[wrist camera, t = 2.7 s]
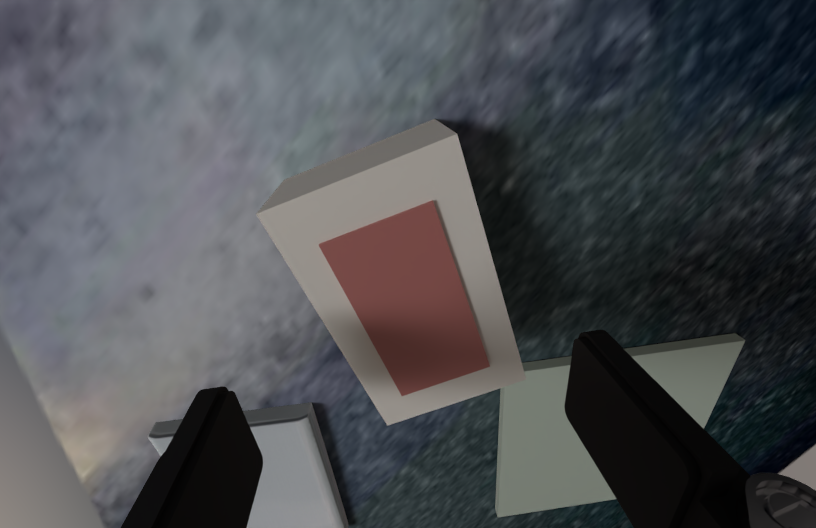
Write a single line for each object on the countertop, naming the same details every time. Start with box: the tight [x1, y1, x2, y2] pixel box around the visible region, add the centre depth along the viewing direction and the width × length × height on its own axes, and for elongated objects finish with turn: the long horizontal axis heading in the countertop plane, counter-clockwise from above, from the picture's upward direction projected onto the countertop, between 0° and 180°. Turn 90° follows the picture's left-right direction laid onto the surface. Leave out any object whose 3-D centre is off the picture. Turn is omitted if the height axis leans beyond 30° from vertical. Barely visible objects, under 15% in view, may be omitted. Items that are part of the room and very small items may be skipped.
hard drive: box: [148, 403, 348, 528], centre depth 21 cm, size 2×8×12 cm
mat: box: [495, 333, 745, 517], centre depth 22 cm, size 14×13×1 cm
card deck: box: [256, 119, 526, 425], centre depth 14 cm, size 10×6×4 cm, turn 20°
